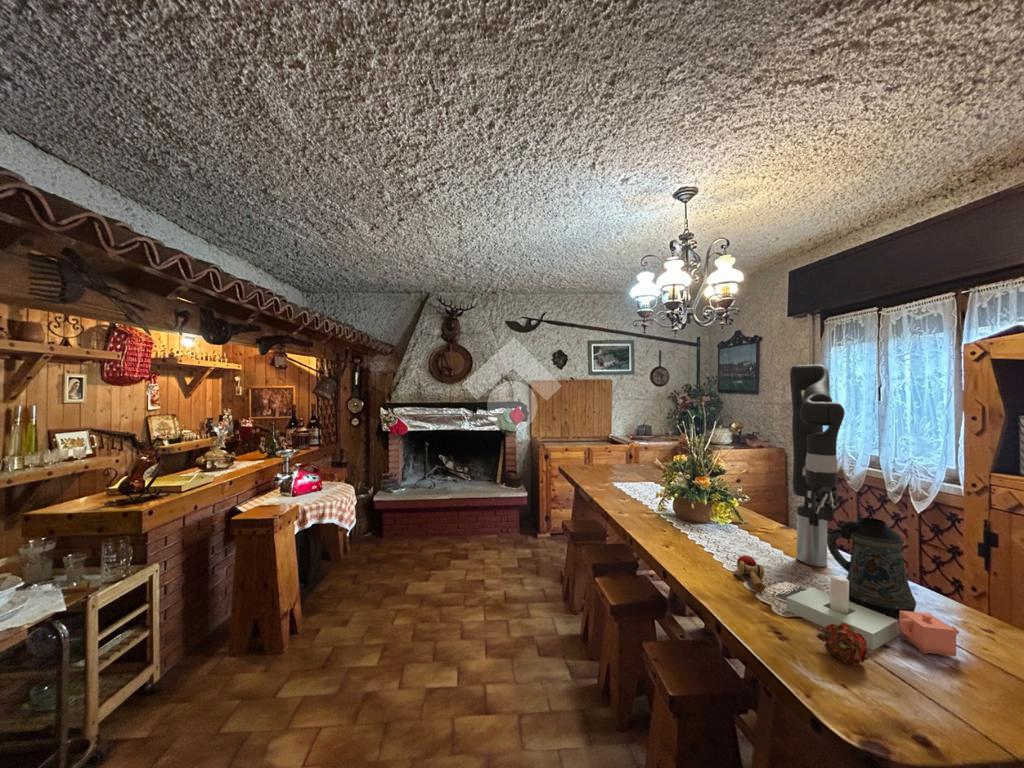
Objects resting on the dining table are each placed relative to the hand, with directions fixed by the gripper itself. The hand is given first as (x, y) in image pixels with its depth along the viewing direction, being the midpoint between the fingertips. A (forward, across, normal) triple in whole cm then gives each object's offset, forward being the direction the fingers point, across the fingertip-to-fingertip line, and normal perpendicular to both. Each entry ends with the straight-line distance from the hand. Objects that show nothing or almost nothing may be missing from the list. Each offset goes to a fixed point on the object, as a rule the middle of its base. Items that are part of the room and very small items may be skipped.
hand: (821, 523), depth 122 cm
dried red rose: (+24, +24, +15) cm, 37 cm away
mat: (+25, 0, -9) cm, 26 cm away
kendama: (+25, +3, -19) cm, 31 cm away
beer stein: (+25, -16, +7) cm, 30 cm away
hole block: (+24, +6, +7) cm, 26 cm away
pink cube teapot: (+24, 0, +23) cm, 34 cm away
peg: (+24, +6, +7) cm, 26 cm away
